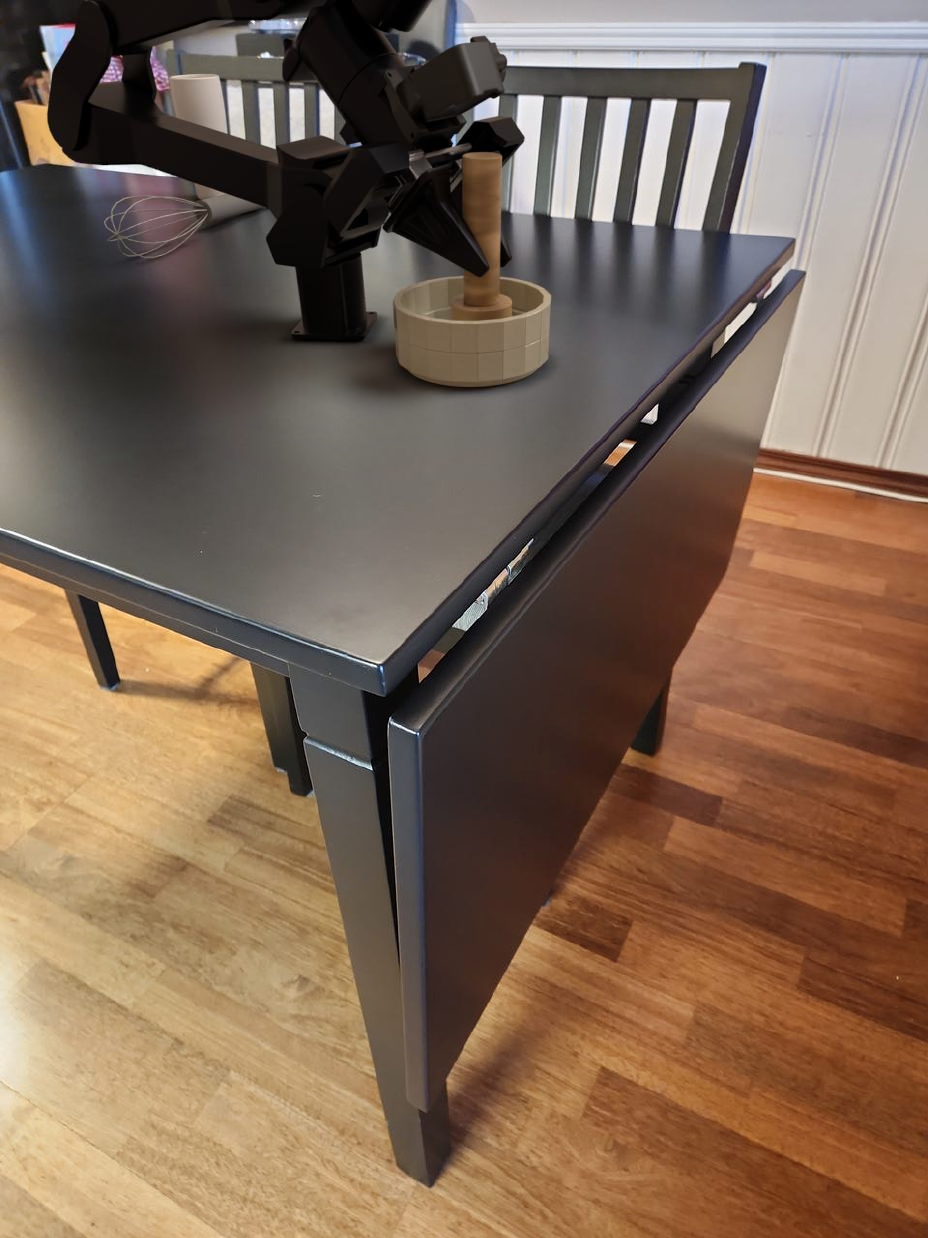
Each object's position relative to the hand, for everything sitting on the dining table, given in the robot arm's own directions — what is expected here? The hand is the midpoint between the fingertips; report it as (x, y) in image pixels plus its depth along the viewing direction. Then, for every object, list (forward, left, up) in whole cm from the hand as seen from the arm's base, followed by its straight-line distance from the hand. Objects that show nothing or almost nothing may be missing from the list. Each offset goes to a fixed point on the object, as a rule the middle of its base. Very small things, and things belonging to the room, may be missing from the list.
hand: (496, 268), depth 62 cm
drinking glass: (+64, +46, -7) cm, 79 cm away
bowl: (+1, +2, -7) cm, 8 cm away
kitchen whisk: (+43, +40, -7) cm, 59 cm away
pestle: (+1, +1, -7) cm, 7 cm away
